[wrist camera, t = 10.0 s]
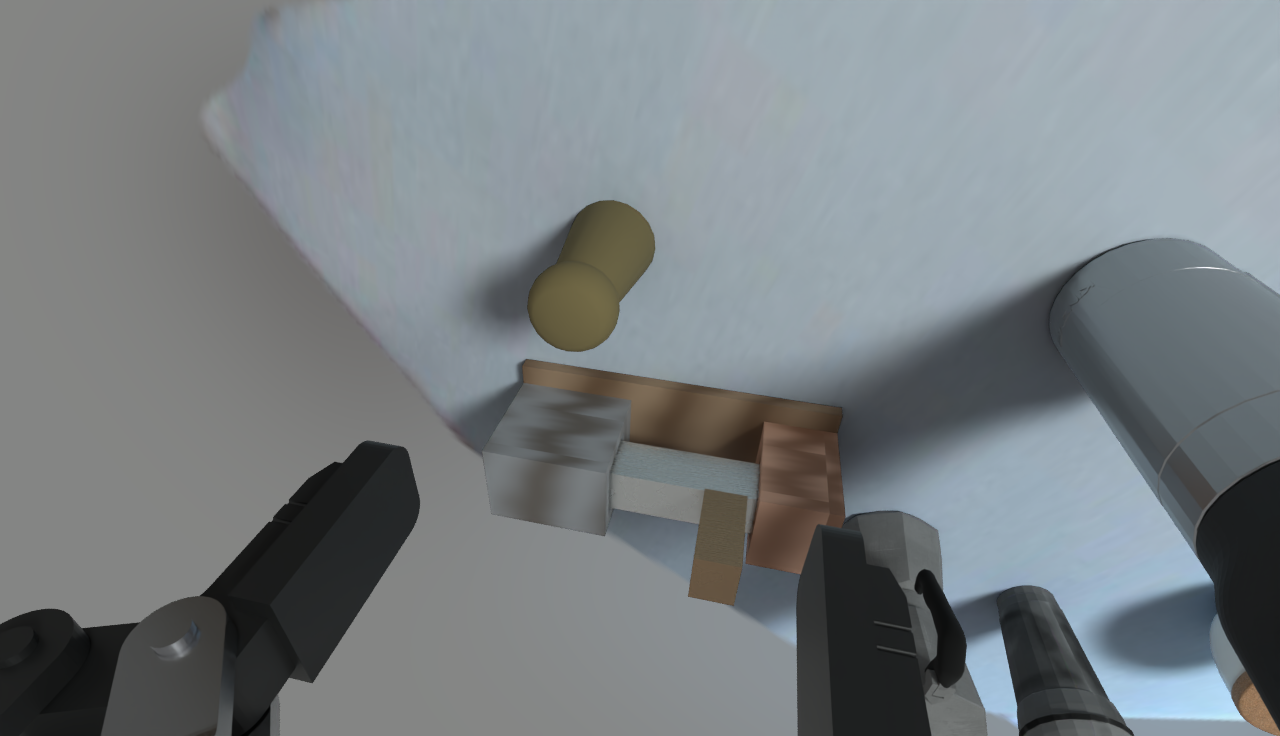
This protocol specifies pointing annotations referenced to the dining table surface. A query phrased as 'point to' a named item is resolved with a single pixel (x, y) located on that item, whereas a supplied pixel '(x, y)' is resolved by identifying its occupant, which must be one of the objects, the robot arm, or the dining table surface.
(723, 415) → the block assembly on base
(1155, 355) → the robot arm
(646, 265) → the cork
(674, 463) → the two-tone wooden block
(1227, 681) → the lidded jar
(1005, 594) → the beverage cup
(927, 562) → the coffeepot
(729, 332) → the dining table surface
